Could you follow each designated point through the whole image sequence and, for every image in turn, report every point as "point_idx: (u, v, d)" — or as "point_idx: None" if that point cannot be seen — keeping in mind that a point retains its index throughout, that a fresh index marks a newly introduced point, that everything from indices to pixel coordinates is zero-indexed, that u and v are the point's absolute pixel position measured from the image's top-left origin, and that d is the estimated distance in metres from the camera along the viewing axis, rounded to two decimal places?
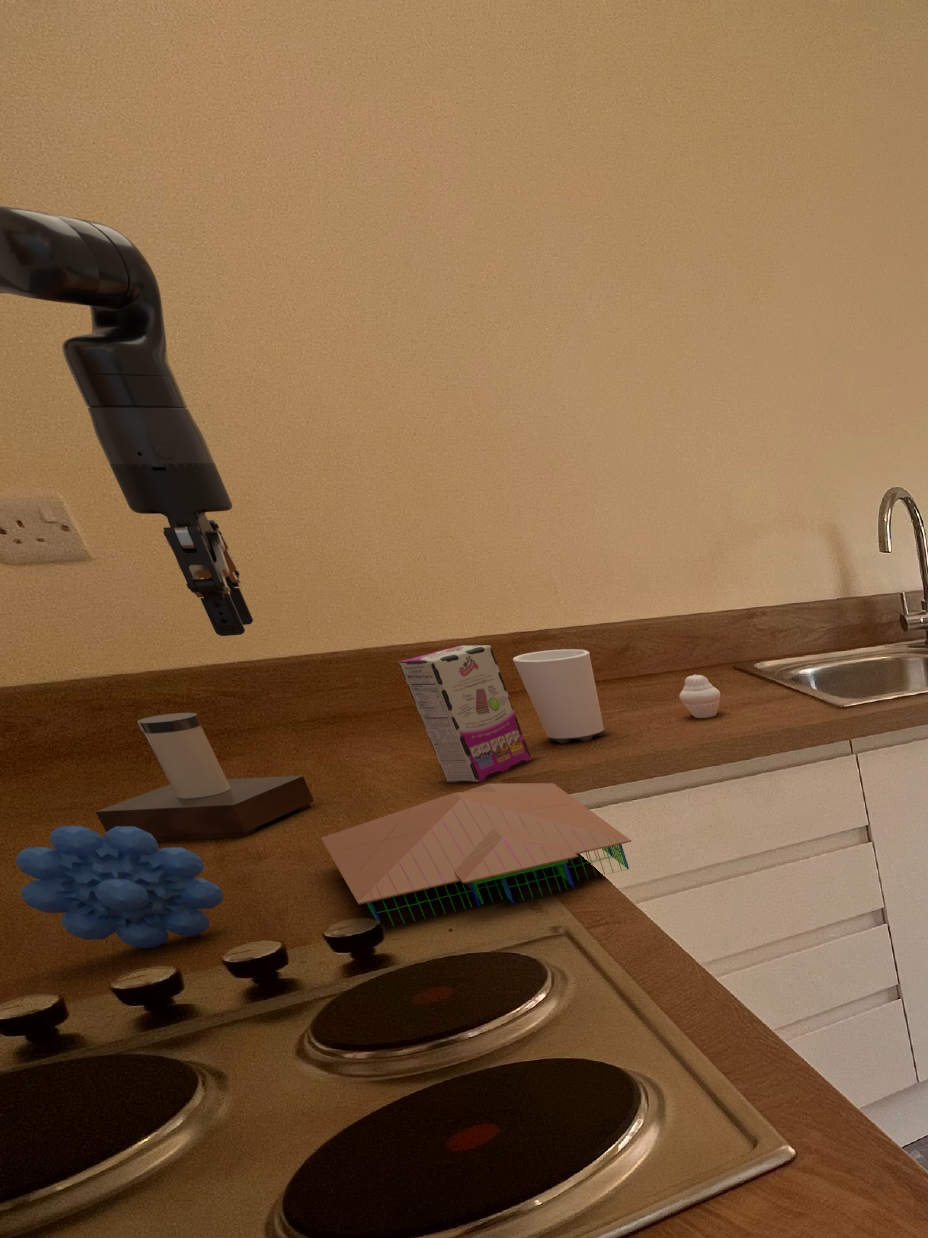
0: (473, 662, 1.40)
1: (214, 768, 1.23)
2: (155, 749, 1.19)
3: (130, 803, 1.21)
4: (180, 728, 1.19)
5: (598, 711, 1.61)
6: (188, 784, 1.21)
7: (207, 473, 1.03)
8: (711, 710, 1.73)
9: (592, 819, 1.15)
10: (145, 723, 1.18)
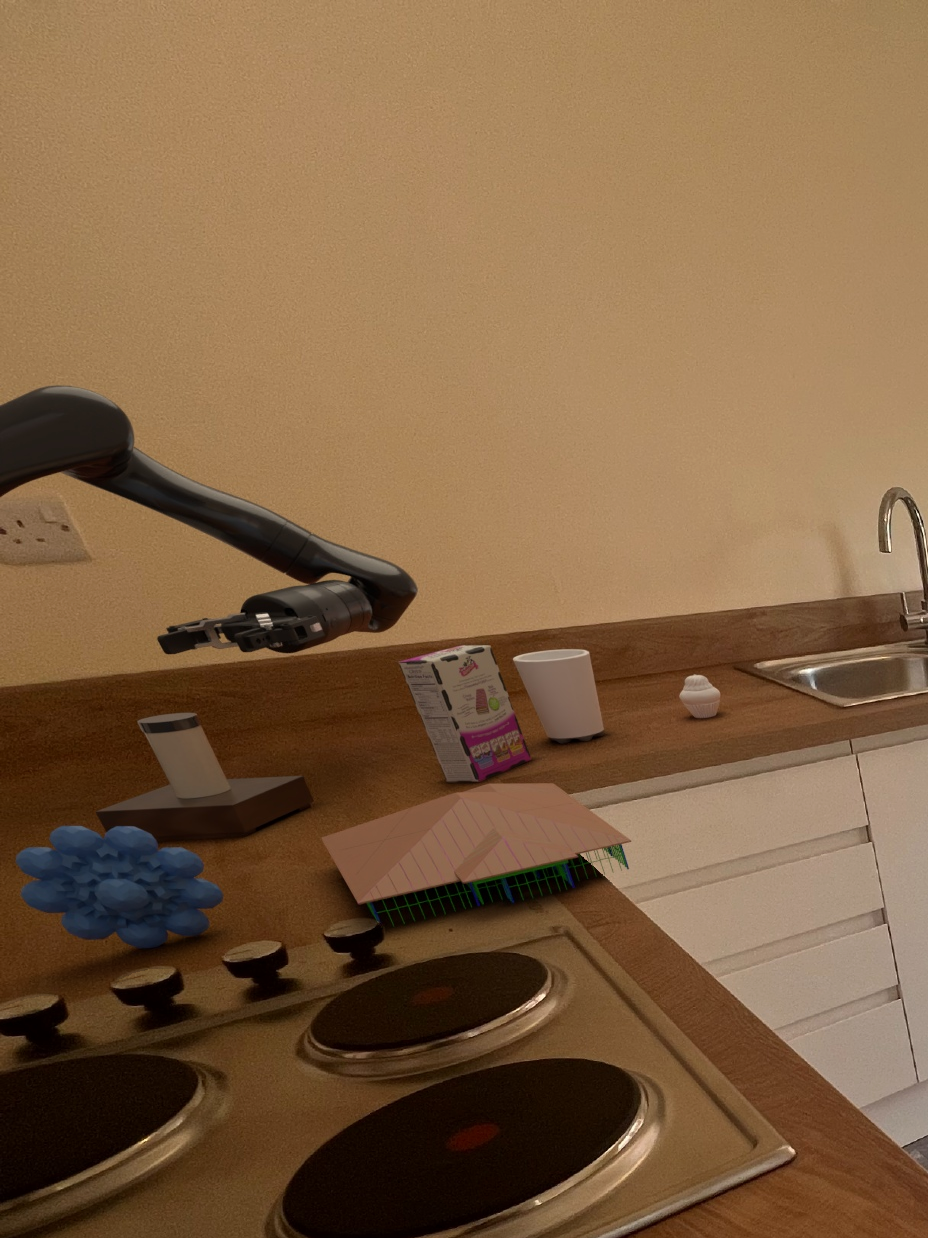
0: (473, 662, 1.40)
1: (214, 768, 1.23)
2: (155, 749, 1.19)
3: (130, 803, 1.21)
4: (180, 728, 1.19)
5: (598, 711, 1.61)
6: (188, 784, 1.21)
7: (318, 643, 1.40)
8: (711, 710, 1.73)
9: (592, 819, 1.15)
10: (145, 723, 1.18)
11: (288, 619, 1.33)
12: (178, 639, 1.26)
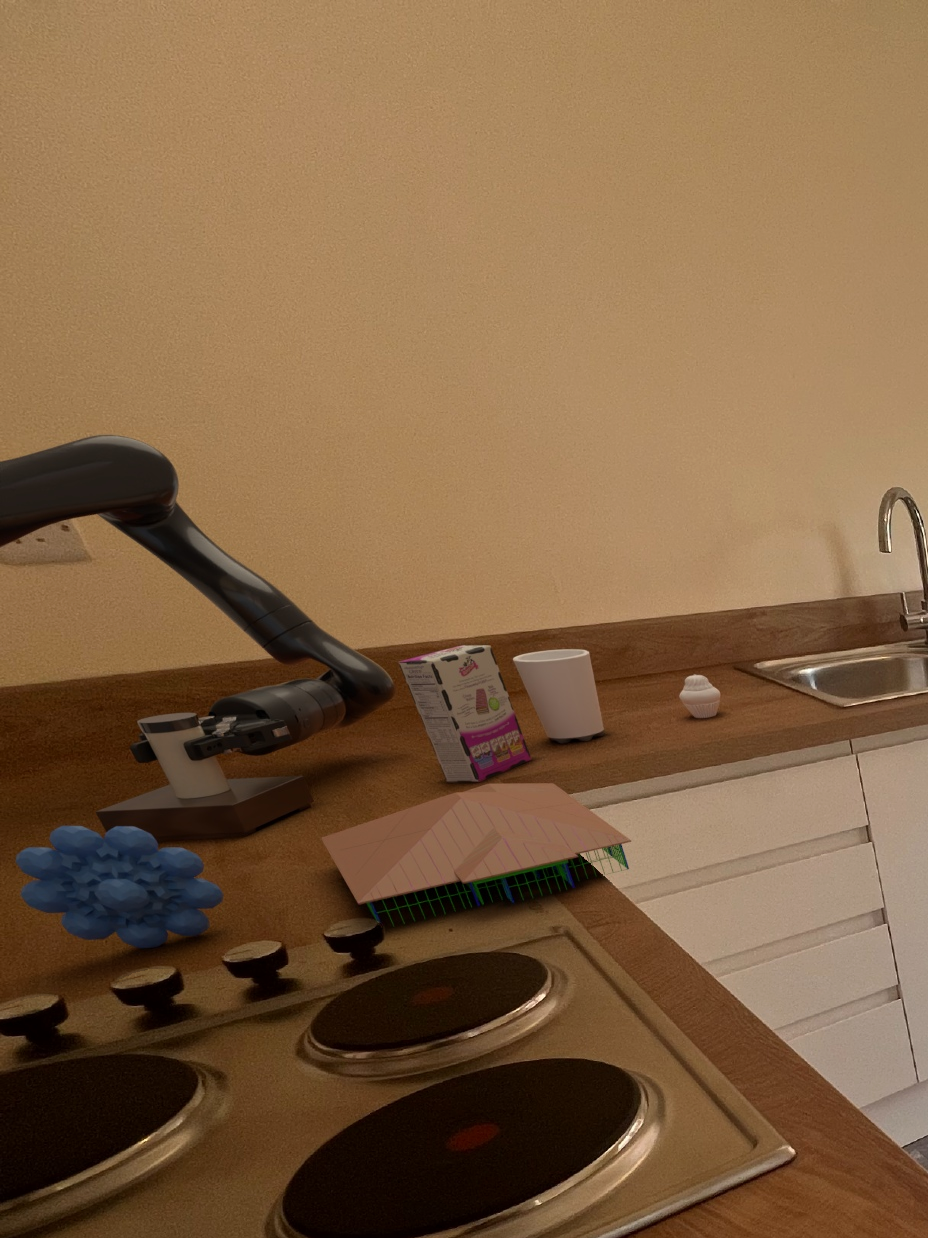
0: (473, 662, 1.40)
1: (214, 768, 1.23)
2: (155, 749, 1.19)
3: (130, 803, 1.21)
4: (180, 728, 1.19)
5: (598, 711, 1.61)
6: (187, 784, 1.21)
7: (290, 744, 1.35)
8: (711, 710, 1.73)
9: (592, 819, 1.15)
10: (145, 723, 1.18)
11: (260, 722, 1.28)
12: None
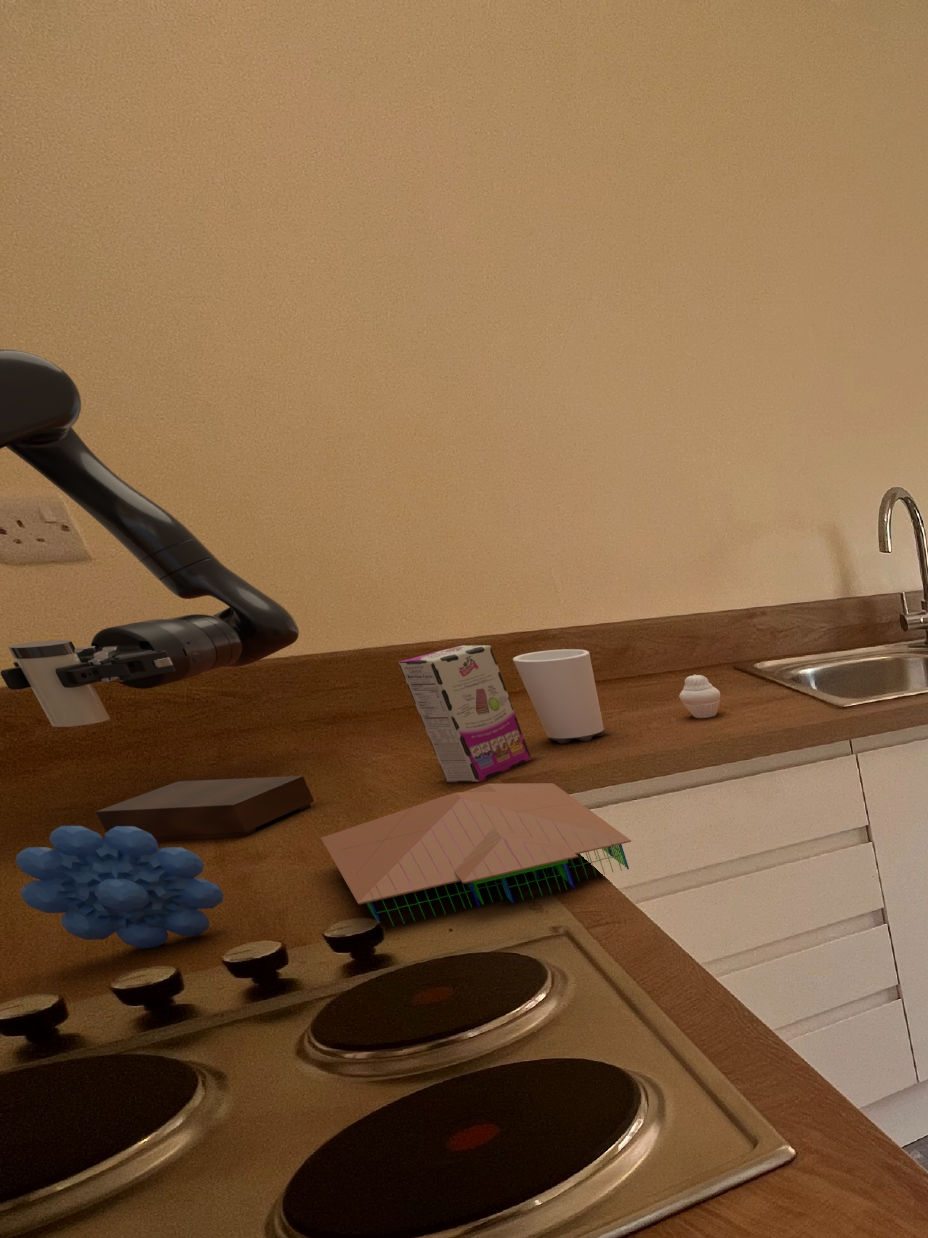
0: (473, 662, 1.40)
1: (90, 697, 1.21)
2: (27, 675, 1.18)
3: (130, 803, 1.21)
4: (52, 654, 1.18)
5: (598, 711, 1.61)
6: (62, 712, 1.20)
7: (178, 678, 1.33)
8: (711, 710, 1.73)
9: (592, 819, 1.15)
10: (15, 648, 1.16)
11: (142, 652, 1.27)
12: None
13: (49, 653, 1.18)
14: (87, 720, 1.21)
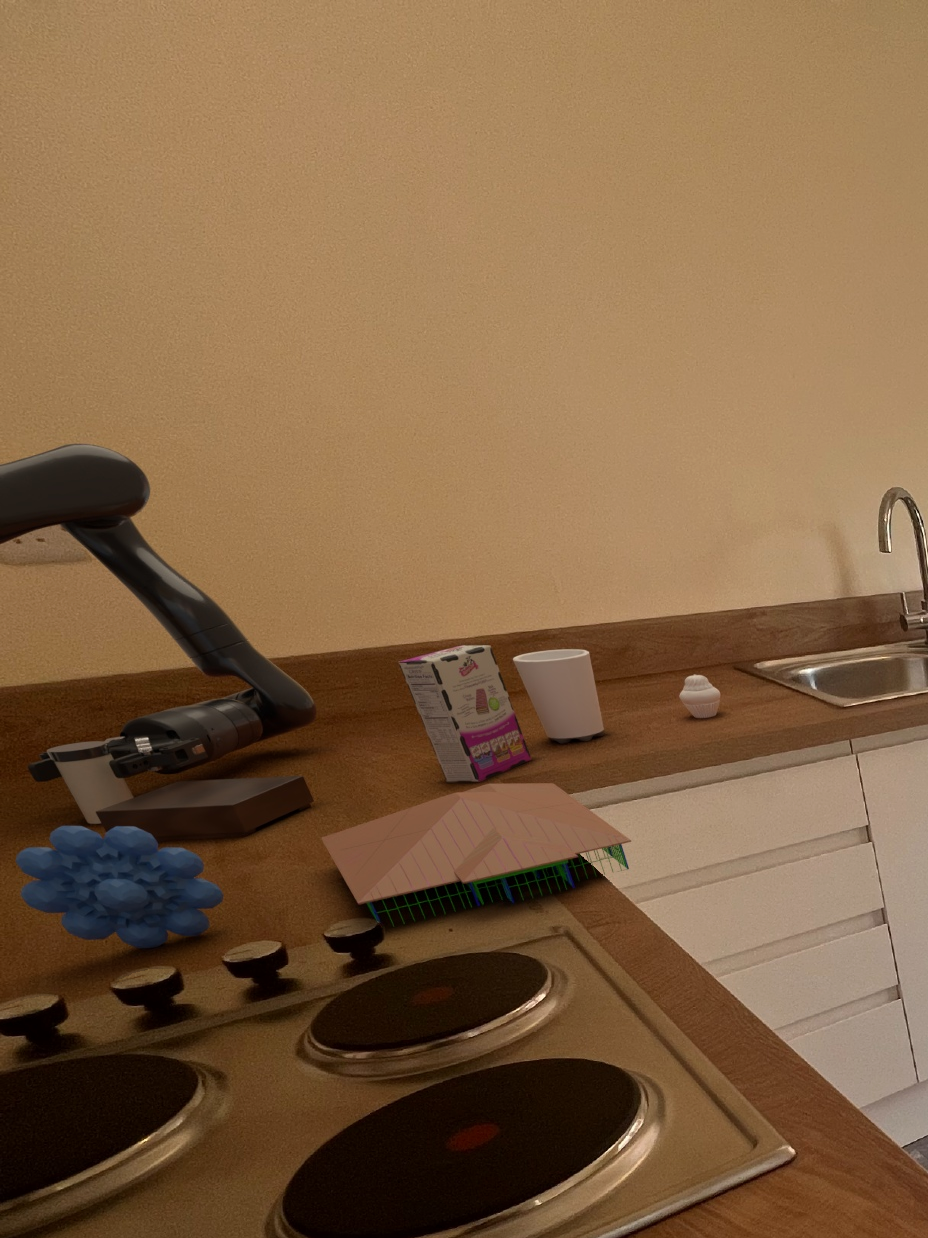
0: (473, 662, 1.40)
1: (124, 795, 1.27)
2: (64, 777, 1.24)
3: (130, 803, 1.21)
4: (89, 757, 1.24)
5: (598, 711, 1.61)
6: None
7: (203, 762, 1.39)
8: (711, 710, 1.73)
9: (592, 819, 1.15)
10: (54, 752, 1.22)
11: (169, 742, 1.32)
12: (50, 766, 1.25)
13: (86, 756, 1.24)
14: None
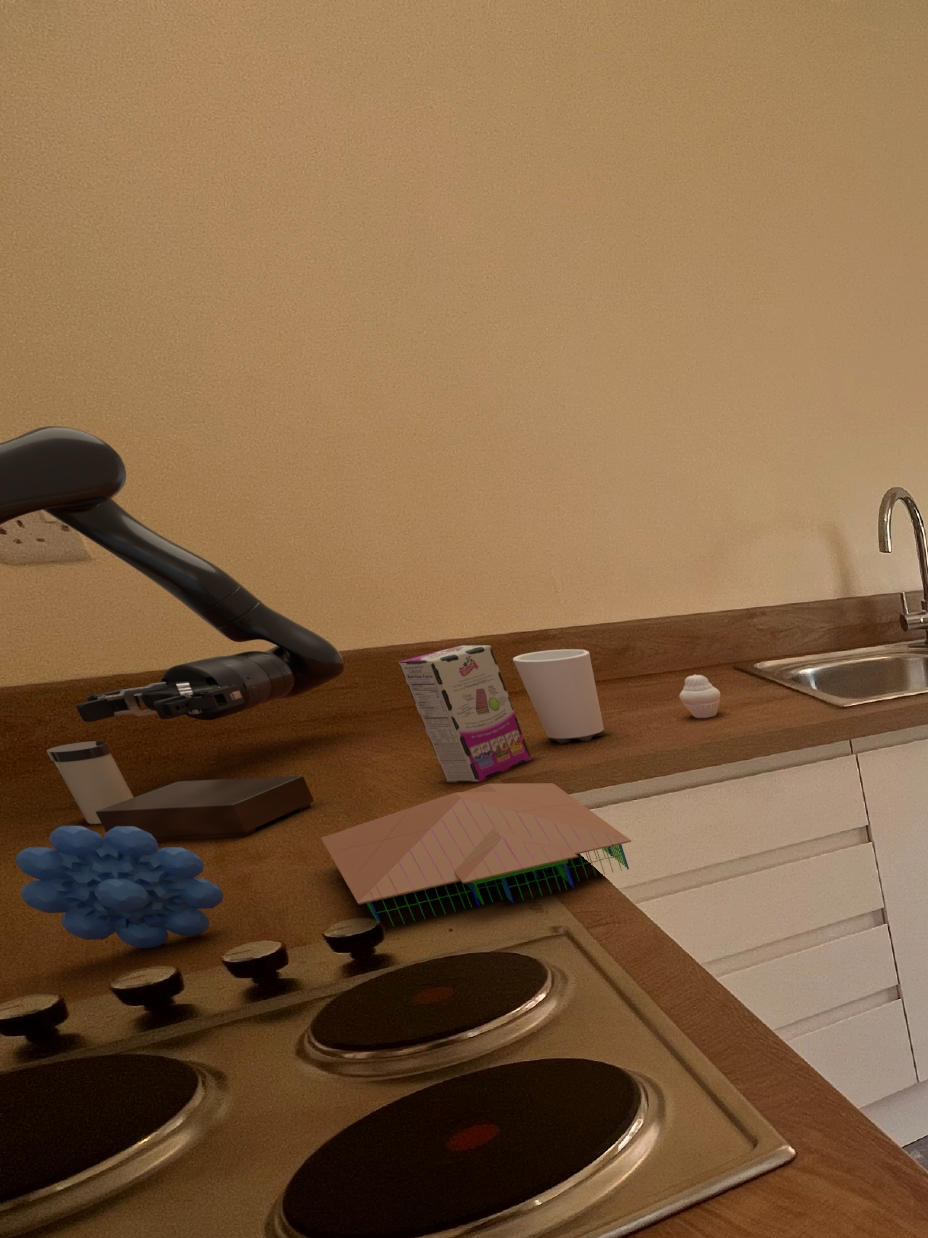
0: (473, 662, 1.40)
1: (124, 795, 1.27)
2: (64, 777, 1.24)
3: (130, 803, 1.21)
4: (89, 757, 1.24)
5: (598, 711, 1.61)
6: None
7: (238, 710, 1.45)
8: (711, 710, 1.73)
9: (592, 819, 1.15)
10: (54, 752, 1.22)
11: (208, 687, 1.39)
12: (97, 707, 1.31)
13: (86, 756, 1.24)
14: None
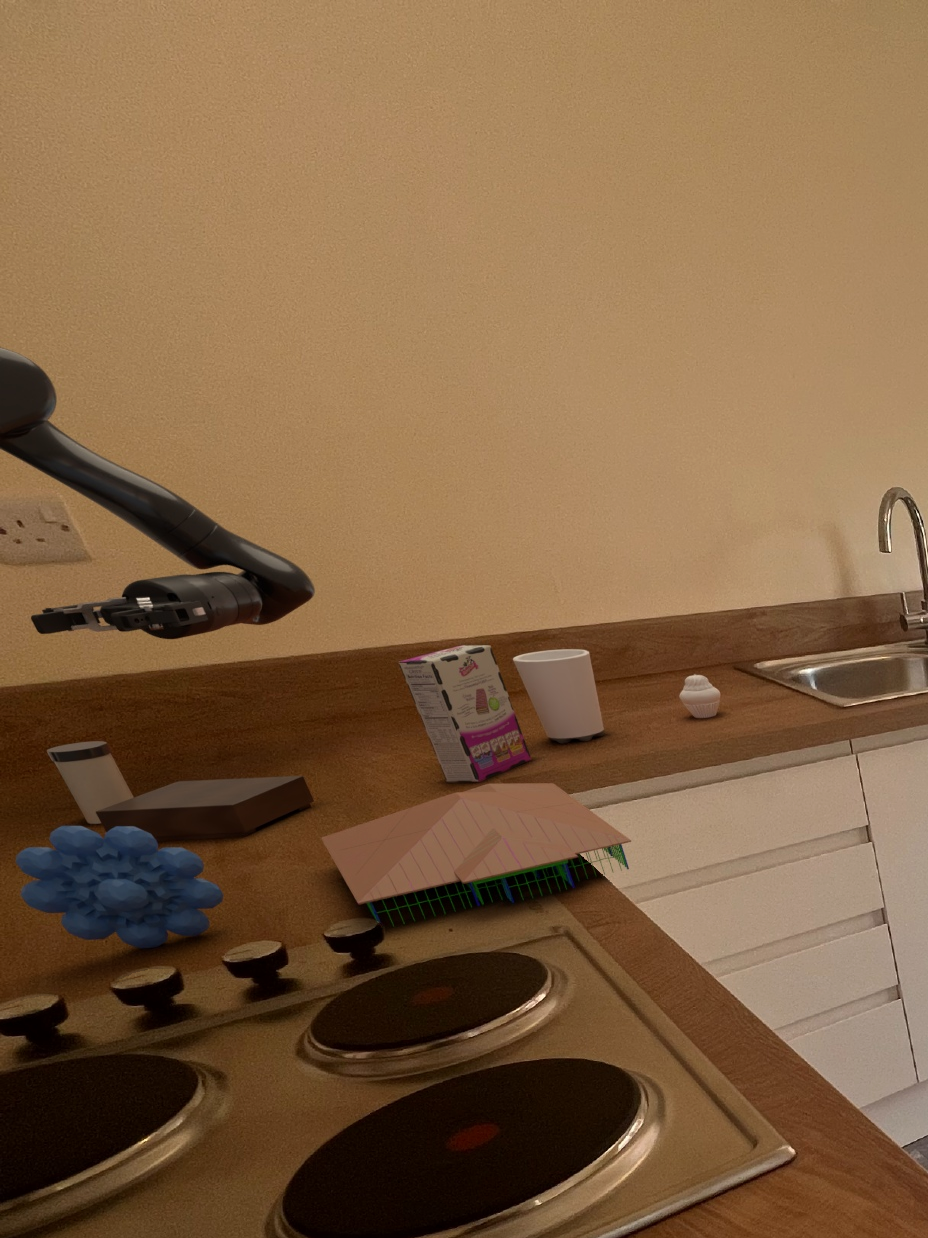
0: (473, 662, 1.40)
1: (124, 795, 1.27)
2: (64, 777, 1.24)
3: (130, 803, 1.21)
4: (89, 757, 1.24)
5: (598, 711, 1.61)
6: None
7: (203, 630, 1.41)
8: (711, 710, 1.73)
9: (592, 819, 1.15)
10: (54, 752, 1.22)
11: (170, 603, 1.34)
12: (53, 619, 1.27)
13: (86, 756, 1.24)
14: None
